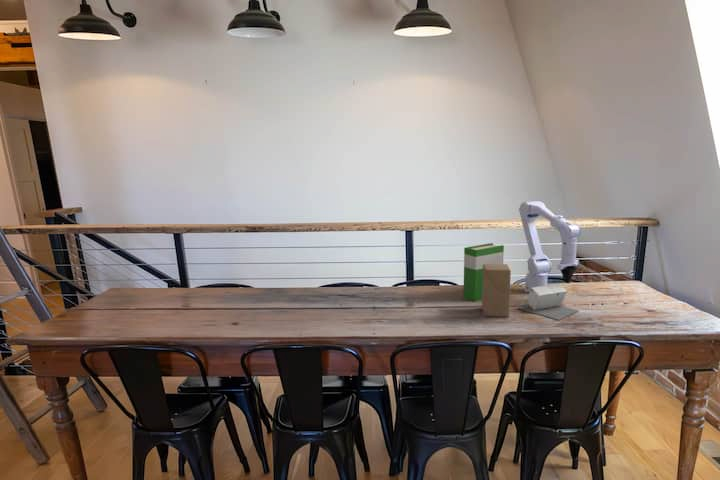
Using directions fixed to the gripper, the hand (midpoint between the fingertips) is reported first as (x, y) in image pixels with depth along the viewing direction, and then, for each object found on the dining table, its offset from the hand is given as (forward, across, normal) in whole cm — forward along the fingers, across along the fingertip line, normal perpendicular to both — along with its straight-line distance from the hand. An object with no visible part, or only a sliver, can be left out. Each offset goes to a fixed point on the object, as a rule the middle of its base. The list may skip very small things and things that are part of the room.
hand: (567, 282), depth 191 cm
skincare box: (+4, -5, 0) cm, 6 cm away
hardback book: (+10, -19, +30) cm, 37 cm away
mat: (+9, -14, 0) cm, 17 cm away
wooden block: (+10, -33, +13) cm, 37 cm away
